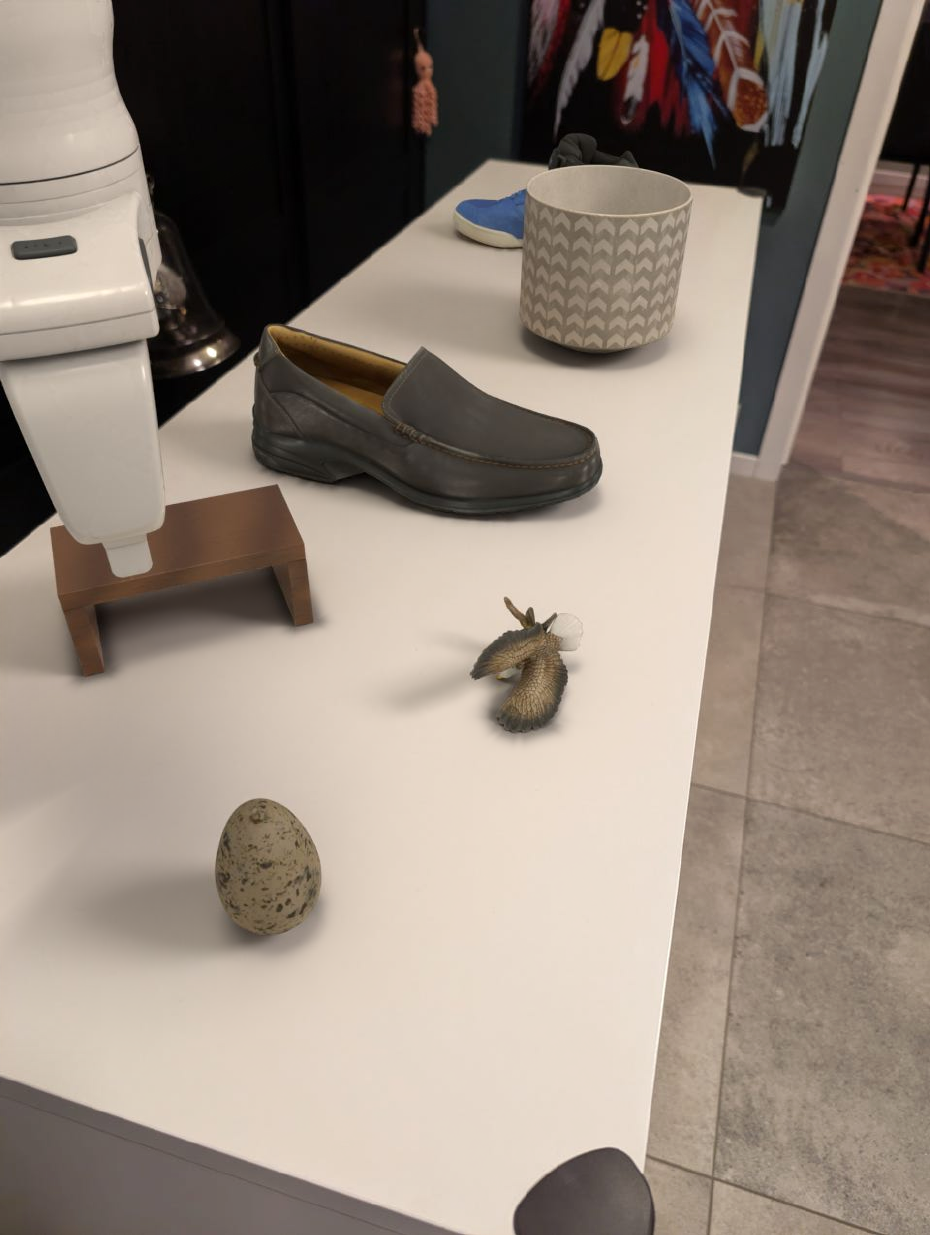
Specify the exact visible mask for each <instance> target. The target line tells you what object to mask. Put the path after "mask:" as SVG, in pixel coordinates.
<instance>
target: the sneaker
mask: <svg viewBox="0 0 930 1235" xmlns="http://www.w3.org/2000/svg"><path fill="white" fill-rule="evenodd" d="M597 146H598V144H597V140H596V138H594V137H593V136H591V135H589V134H585V133H581V132H579V133H578V132H577V133H574V132H573V133H572V132H571V133H568V134H566V135H564V137H562V138H561V139H560V140H559V143H558V146H557V147H556V148H554V149H553V150H552V153H551V156H550V158H549V162H548V165H547V171H549V170H552V169H557V168H562V167H570V166H581V165H613V166H625V167H633V168H640V169H642V168H641V167H639V165H638V163H637V160H635V157H634V155H633V154H632V152H631V151H629V150H625V151H624V152H623V154H622V155H621V156H620V157H618V156H614V155H611V154H609V153H606V152H602V151H599V150H597ZM525 194H526V188H523V189H520V190H518V191H517V192H514V193H512V194H511V195H510V196H505V197H503V198H501V199H485V198H471V199H465V200H462V201H461V202H459V203H458V205H456V206H455V207H454V209H453V215H452V219H453V220H452V221H453V223H454V226H455V228H456V229H457V230H458V231H459V232H460V233H461V234H463V235H464V236H466V237H467V238H469V239H472V240H474V241H476V242H479V243H482V244H485V245H488V246H492V247H496V248H505V249H511V248H523V233H524V214H525Z"/></svg>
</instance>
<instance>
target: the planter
mask: <svg viewBox="0 0 930 1235" xmlns="http://www.w3.org/2000/svg"><path fill="white" fill-rule="evenodd" d="M640 168H641V167H639V168H633V167H625V166H613V165H581V166H570V167H562V168H557V169H552V170H549V171H548V170H545V171H542V172H540V173H538V174H535V175H534V176H532V177H531V178H530V179H529V180H528V181H527V183H526V185H525V189H526V194H525V214H524V233H523V247H522V253H521V254H522V256H521V275H520V293H519V294H520V296H519V318H520V321H521V323H522V324H523V325H524V327H525V328H527V329H528V330H529V331H531V332H532V333H533V334H535V335H537V336H539V337H541V338H543V339H545V340H547V341H550V342H553V343H556V344H558V345H559V346H561V347H564V348H566V349H570V350H573V351H577V352H581V353H587V354H610V353H611V354H612V353H617V352H622V351H625V350H629V349H631V348H638V347H642V346H646V345H649V344H652V343H654V342H657V341H659V340H661V339H662V338H664V337H665V336H666V335H668V334H669V333H670V332H671V330H672V328H673V326H674V320H675V315H676V308H677V302H678V295H679V289H680V282H681V276H682V270H683V263H684V259H685V258H684V256H685V249H686V245H687V238H688V232H689V225H690V221H691V220H690V219H691V214H692V213H691V212H692V207H693V200H694V192H693V190H692V189H691V187H690V186H689V185H688V184H687V183H685V182H684V181H682V180H680V179H679V178H676V177H674V176H671V175H668V174H665V173H661V172H658V171H655V170H650V169H644V168H641V169H640Z"/></svg>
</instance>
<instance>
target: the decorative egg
mask: <svg viewBox="0 0 930 1235" xmlns="http://www.w3.org/2000/svg"><path fill="white" fill-rule="evenodd" d="M214 865H215V866H214V876H215V886H216V891H217V895H218V898H219V901H220V902H221V905H222V907H223V909H224V911H225V912H226V913H227V915H228V916H229V918H230V919H231V920H232V921H233V922H234V923H235V924H237V926H239V927H240V928H242V929H244V930H245V931H248V932H249V933H253V934H256V935H260V936H274V935H280V934H284V933H286V932H289V931H291V930H293V929H295V928H296V927H298V926H299V925H300V924H302V923H303V921H305V920H306V918H308V917H309V915H310V913H311V912H312V911H313V909H314V908H315V906H316V903H317V901H318V898H319V895H320V892H321V888H322V866H321V860H320V855H319V853H318V850H317V847H316V844H315V843H314V840H313V838H312V837H311V835H310V833H309V832H308V830H307V828H306V827H305V826H304V824H303V823H302V822H301V820H300V819H299V818H298V817H297V816H296V815H295V814H294V813H293V812H292V811H291V810H290V809H288V808H287V807H286V806H284V805H283V804H281V803H279V802H277V801H275V800H272V799H269V798H260V797H259V798H258V797H257V798H252V799H249V800H246V801H244V802H243V803H242V804H240V805H239V806H238V807H237V808H236V809H234V811H233V812H232V813H231V815H230V816H229V817H228V819H227V820H226V822H225V825H224V827H223V829H222V832H221V835H220V837H219V841H218V845H217V850H216V854H215V864H214Z"/></svg>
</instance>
